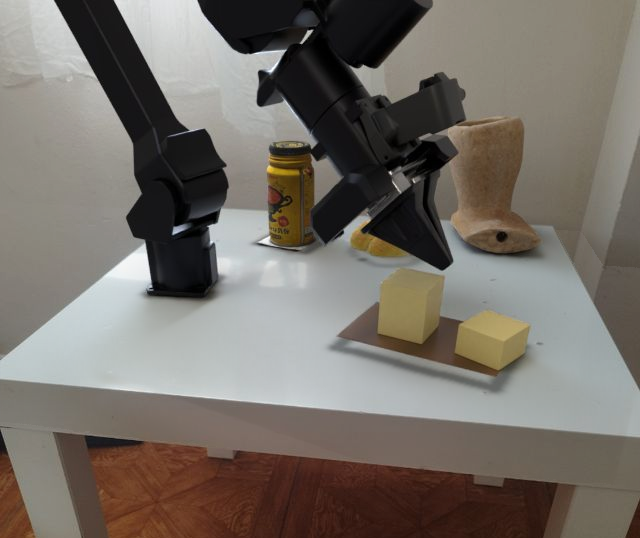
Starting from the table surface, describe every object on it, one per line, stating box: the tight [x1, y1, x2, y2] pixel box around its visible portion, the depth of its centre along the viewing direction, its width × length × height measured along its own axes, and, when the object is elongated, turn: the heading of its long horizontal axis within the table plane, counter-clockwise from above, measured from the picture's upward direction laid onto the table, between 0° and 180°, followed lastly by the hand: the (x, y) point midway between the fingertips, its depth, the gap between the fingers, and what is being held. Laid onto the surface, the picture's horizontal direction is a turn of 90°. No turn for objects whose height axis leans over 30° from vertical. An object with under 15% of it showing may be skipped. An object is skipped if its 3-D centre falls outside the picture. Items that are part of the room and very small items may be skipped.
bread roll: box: [349, 219, 412, 258], centre depth 77 cm, size 8×9×4 cm
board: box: [336, 301, 502, 378], centre depth 57 cm, size 15×9×1 cm, turn 61°
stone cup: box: [447, 115, 543, 254], centre depth 79 cm, size 15×12×15 cm
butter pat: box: [455, 309, 532, 371], centre depth 53 cm, size 4×4×3 cm
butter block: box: [378, 266, 446, 344], centre depth 56 cm, size 4×4×5 cm
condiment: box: [256, 140, 320, 251], centre depth 79 cm, size 7×8×12 cm
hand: (448, 266), depth 53 cm, fingers closed
